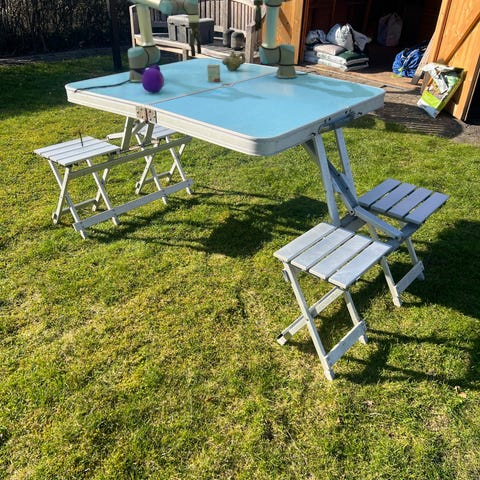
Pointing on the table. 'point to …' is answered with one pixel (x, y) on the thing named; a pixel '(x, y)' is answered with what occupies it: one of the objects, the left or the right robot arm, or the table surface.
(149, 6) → the left robot arm
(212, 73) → the ink box
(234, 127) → the table surface
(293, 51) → the right robot arm
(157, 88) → the toy
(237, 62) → the teapot
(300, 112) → the table surface
